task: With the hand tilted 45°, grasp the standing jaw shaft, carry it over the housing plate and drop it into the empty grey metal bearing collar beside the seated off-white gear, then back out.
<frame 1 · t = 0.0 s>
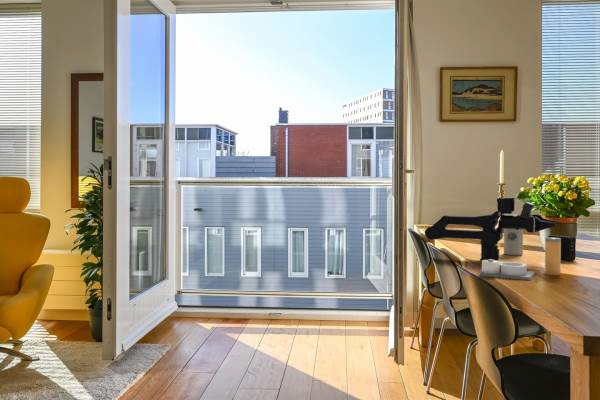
hand: (556, 223, 200), 17 cm above the table, tool horizontal, fingers open, 9 cm apart
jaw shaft: (552, 273, 182), on the table
travel mug: (513, 254, 229), on the table
housing: (512, 275, 180), on the table
electronic device: (561, 260, 214), on the table
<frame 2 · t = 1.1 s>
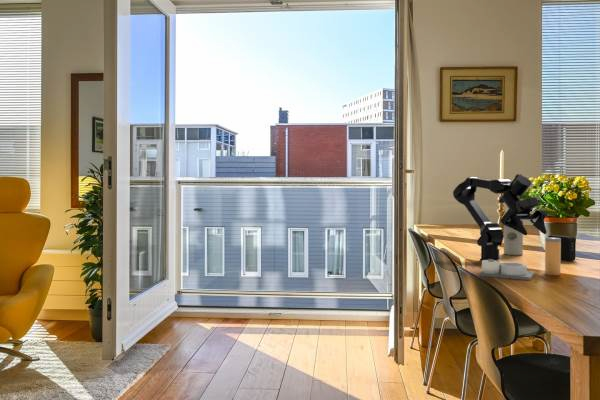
hand: (536, 234, 189), 14 cm above the table, tool tilted 45°, fingers open, 9 cm apart
nothing on the table moved.
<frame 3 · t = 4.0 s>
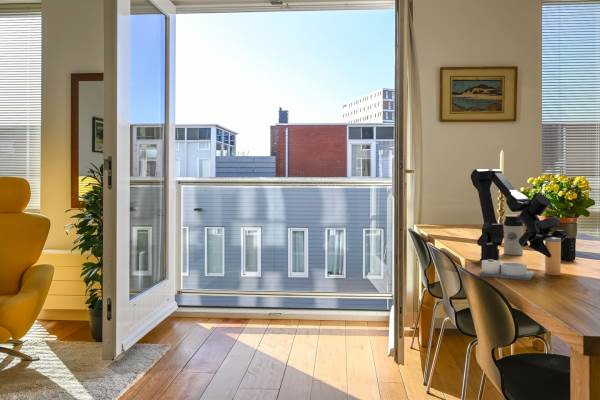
hand: (555, 256, 181), 7 cm above the table, tool tilted 45°, fingers closed on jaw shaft, 5 cm apart
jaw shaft: (552, 273, 182), on the table, touching gripper
everything else where it was.
when the fingers open (9 cm above the table, at t = 7.9 s): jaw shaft drops 1 cm, resting on housing.
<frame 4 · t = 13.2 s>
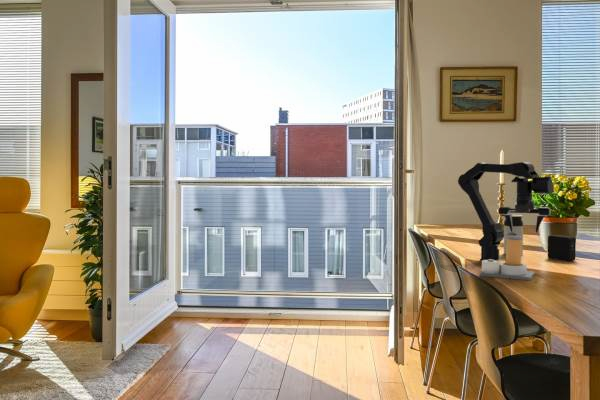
hand: (524, 232, 202), 13 cm above the table, tool pointing down, fingers open, 9 cm apart
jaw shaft: (512, 272, 180), point 1 cm above the table, touching housing
everything else where it was.
at the end: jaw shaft 0.1 cm off-centre on the housing, point 1.1 cm above the housing's base; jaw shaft tilted 2°; the gripper is holding nothing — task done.
